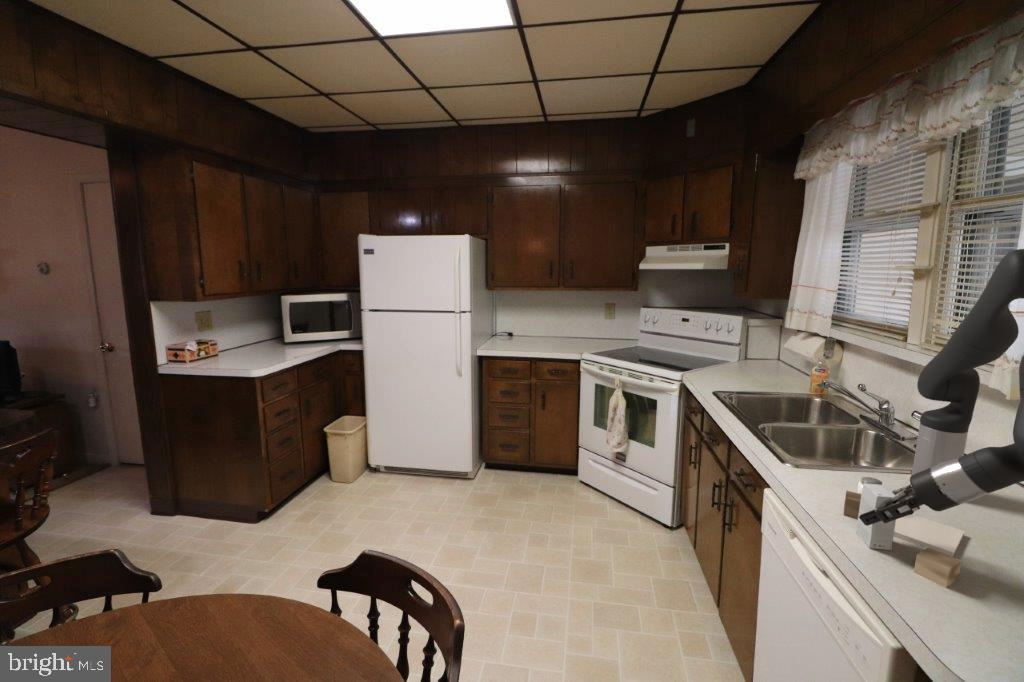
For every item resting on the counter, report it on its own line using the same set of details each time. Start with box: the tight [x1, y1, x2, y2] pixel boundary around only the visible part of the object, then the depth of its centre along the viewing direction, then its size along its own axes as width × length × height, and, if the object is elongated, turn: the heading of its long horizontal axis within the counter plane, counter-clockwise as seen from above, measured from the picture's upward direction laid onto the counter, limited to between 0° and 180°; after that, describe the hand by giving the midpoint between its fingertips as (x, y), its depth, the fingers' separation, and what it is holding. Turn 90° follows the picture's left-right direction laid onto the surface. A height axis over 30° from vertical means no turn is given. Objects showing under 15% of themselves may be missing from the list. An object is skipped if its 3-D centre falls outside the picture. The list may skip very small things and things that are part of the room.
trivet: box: [893, 513, 965, 558], centre depth 105 cm, size 12×12×1 cm
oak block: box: [913, 547, 962, 589], centre depth 91 cm, size 5×5×4 cm
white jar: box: [856, 476, 883, 494], centre depth 116 cm, size 5×5×7 cm
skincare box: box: [855, 483, 896, 551], centre depth 101 cm, size 6×4×12 cm
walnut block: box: [843, 490, 861, 520], centre depth 113 cm, size 4×4×4 cm
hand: (868, 514), depth 102 cm, fingers open, 7 cm apart
